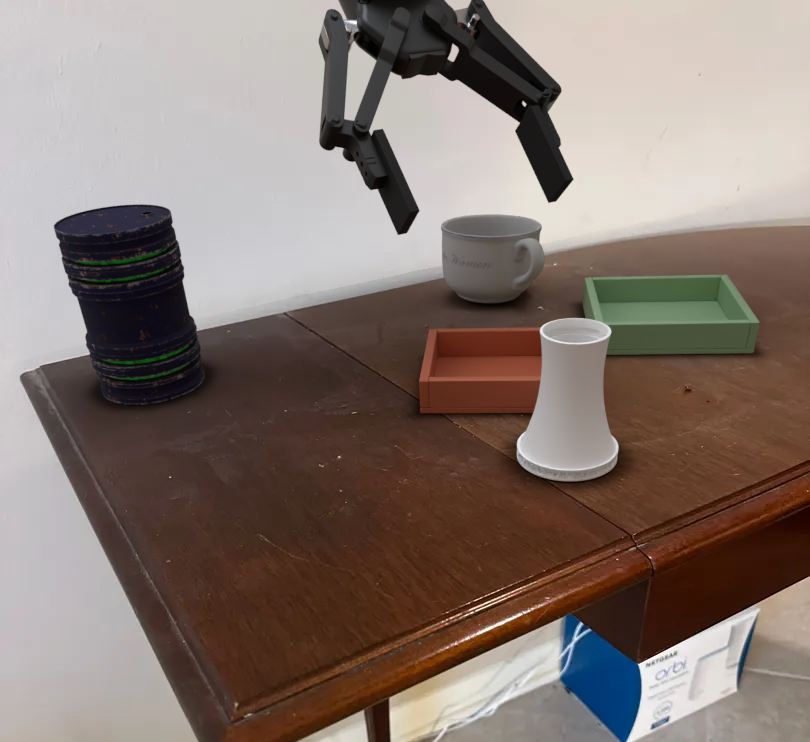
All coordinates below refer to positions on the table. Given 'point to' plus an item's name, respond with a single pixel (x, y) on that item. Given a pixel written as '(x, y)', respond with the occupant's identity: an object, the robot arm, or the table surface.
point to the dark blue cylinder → (132, 301)
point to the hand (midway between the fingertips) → (488, 207)
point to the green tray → (671, 314)
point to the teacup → (491, 256)
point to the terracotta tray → (481, 370)
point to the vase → (570, 405)
